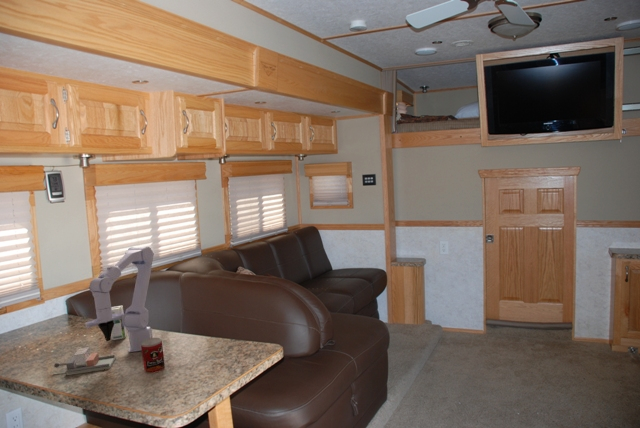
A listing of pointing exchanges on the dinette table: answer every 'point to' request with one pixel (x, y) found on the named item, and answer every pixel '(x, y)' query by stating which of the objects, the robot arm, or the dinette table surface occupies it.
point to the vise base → (102, 364)
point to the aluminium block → (81, 357)
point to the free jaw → (92, 359)
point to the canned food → (152, 355)
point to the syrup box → (118, 324)
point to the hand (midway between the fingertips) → (108, 340)
